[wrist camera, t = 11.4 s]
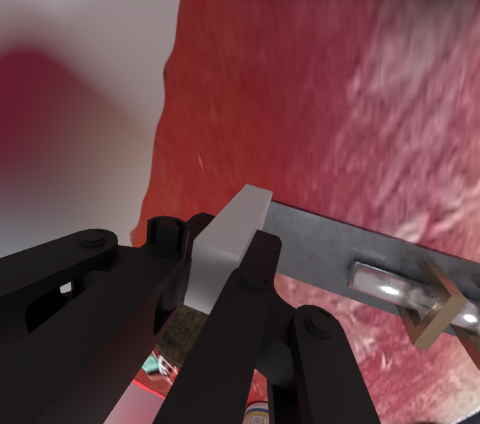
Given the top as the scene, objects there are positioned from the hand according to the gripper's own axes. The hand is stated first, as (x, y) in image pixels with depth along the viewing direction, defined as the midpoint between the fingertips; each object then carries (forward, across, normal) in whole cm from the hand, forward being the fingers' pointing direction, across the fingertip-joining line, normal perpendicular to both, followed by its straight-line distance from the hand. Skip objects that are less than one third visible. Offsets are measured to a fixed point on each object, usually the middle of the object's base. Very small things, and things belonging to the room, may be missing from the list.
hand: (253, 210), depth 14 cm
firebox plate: (+29, +20, -17) cm, 39 cm away
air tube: (+28, +27, -17) cm, 43 cm away
